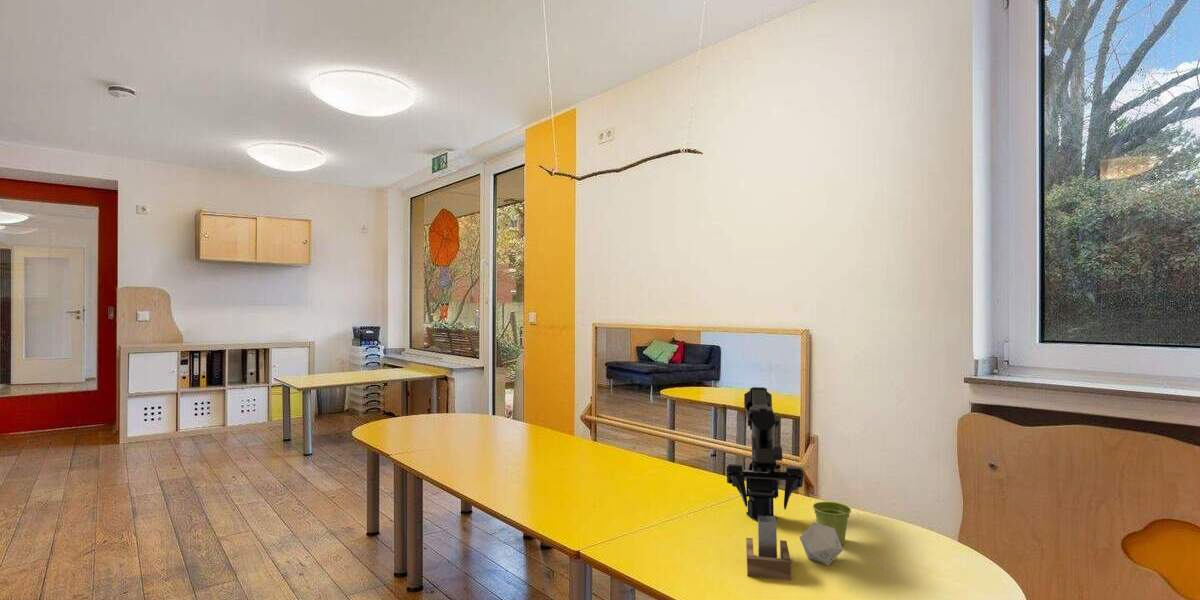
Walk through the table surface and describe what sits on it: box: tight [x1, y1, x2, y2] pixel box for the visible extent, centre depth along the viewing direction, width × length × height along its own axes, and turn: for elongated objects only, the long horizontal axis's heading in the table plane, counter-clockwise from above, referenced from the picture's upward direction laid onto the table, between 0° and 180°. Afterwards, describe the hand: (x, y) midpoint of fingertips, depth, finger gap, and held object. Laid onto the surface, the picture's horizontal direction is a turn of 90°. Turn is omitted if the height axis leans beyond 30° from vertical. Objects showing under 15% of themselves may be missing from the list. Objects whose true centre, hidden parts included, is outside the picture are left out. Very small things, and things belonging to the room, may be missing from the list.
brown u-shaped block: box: [745, 537, 792, 581], centre depth 138 cm, size 12×10×4 cm
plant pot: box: [812, 501, 852, 545], centre depth 152 cm, size 9×9×9 cm
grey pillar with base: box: [757, 515, 778, 558], centre depth 138 cm, size 7×4×11 cm, turn 167°
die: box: [799, 522, 844, 566], centre depth 141 cm, size 8×9×10 cm
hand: (765, 507), depth 144 cm, fingers open, 9 cm apart
